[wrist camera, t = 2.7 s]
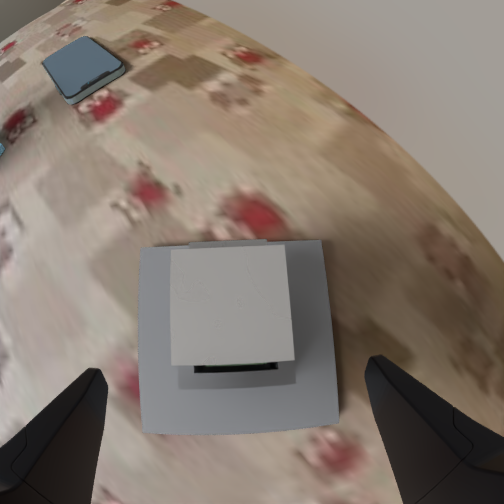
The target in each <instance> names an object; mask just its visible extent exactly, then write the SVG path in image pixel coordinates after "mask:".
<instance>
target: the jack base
mask: <svg viewBox="0 0 504 504" xmlns="http://www.w3.org/2000/svg"><path fill="white" fill-rule="evenodd" d="M267 245H284V246H285V256H286V266H287V276H288V287H289V298H290V309H291V320H292V332H293V345H294V358H295V360H290V361H278V362H267V364H257V365H239V366H212V367H206V365H171V335H170V264H171V250H176V249H189V245H187V246H165V247H145V248H141V250H140V268H139V294H138V363H139V388H140V405H141V418H142V430H143V433H155V434H175V435H230V434H251V433H265V432H276V431H286V430H295V429H303V428H311V427H318V426H324V425H331V424H337V423H339V408H338V391H337V377H336V364H335V352H334V341H333V331H332V321H331V312H330V303H329V295H328V286H327V278H326V271H325V263H324V256H323V249H322V242H321V240H305V241H279V242H267Z"/></svg>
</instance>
